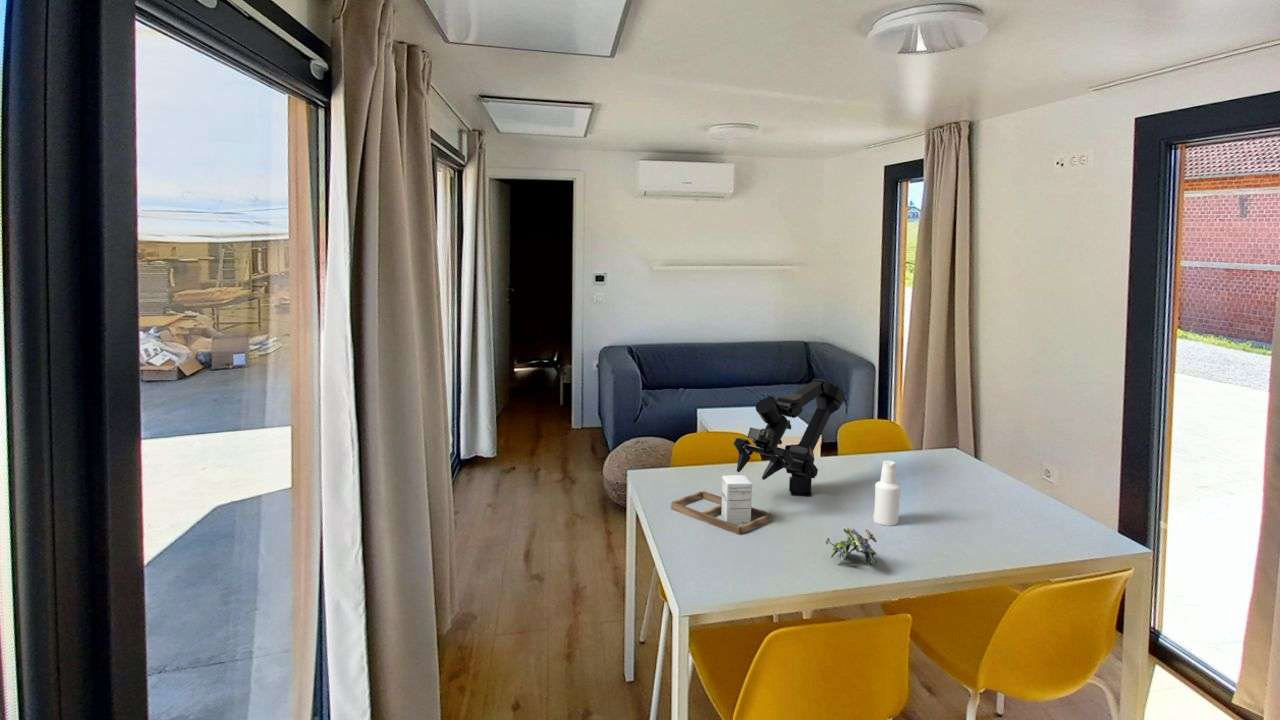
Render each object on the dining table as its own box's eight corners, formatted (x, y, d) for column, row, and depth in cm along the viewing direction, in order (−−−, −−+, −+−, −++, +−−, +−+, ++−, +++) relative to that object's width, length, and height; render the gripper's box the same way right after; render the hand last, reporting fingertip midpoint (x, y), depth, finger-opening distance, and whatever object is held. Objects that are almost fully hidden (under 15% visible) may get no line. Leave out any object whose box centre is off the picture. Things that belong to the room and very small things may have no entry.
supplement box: (720, 516, 204) (721, 475, 202) (745, 515, 204) (746, 474, 202) (725, 525, 196) (726, 483, 194) (751, 525, 197) (752, 482, 195)
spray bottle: (897, 518, 202) (901, 460, 199) (898, 527, 195) (902, 466, 193) (873, 515, 204) (876, 457, 201) (872, 524, 198) (876, 464, 195)
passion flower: (866, 584, 174) (891, 559, 166) (828, 581, 171) (851, 555, 163) (853, 545, 182) (875, 519, 174) (816, 541, 179) (838, 515, 171)
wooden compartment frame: (702, 496, 219) (702, 490, 219) (772, 520, 200) (772, 514, 200) (669, 508, 209) (669, 502, 209) (740, 535, 190) (740, 528, 189)
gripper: (738, 411, 210) (713, 453, 204) (789, 423, 197) (764, 468, 191) (752, 432, 217) (729, 473, 211) (803, 444, 203) (780, 488, 198)
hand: (750, 475), depth 203 cm, fingers open, 9 cm apart
